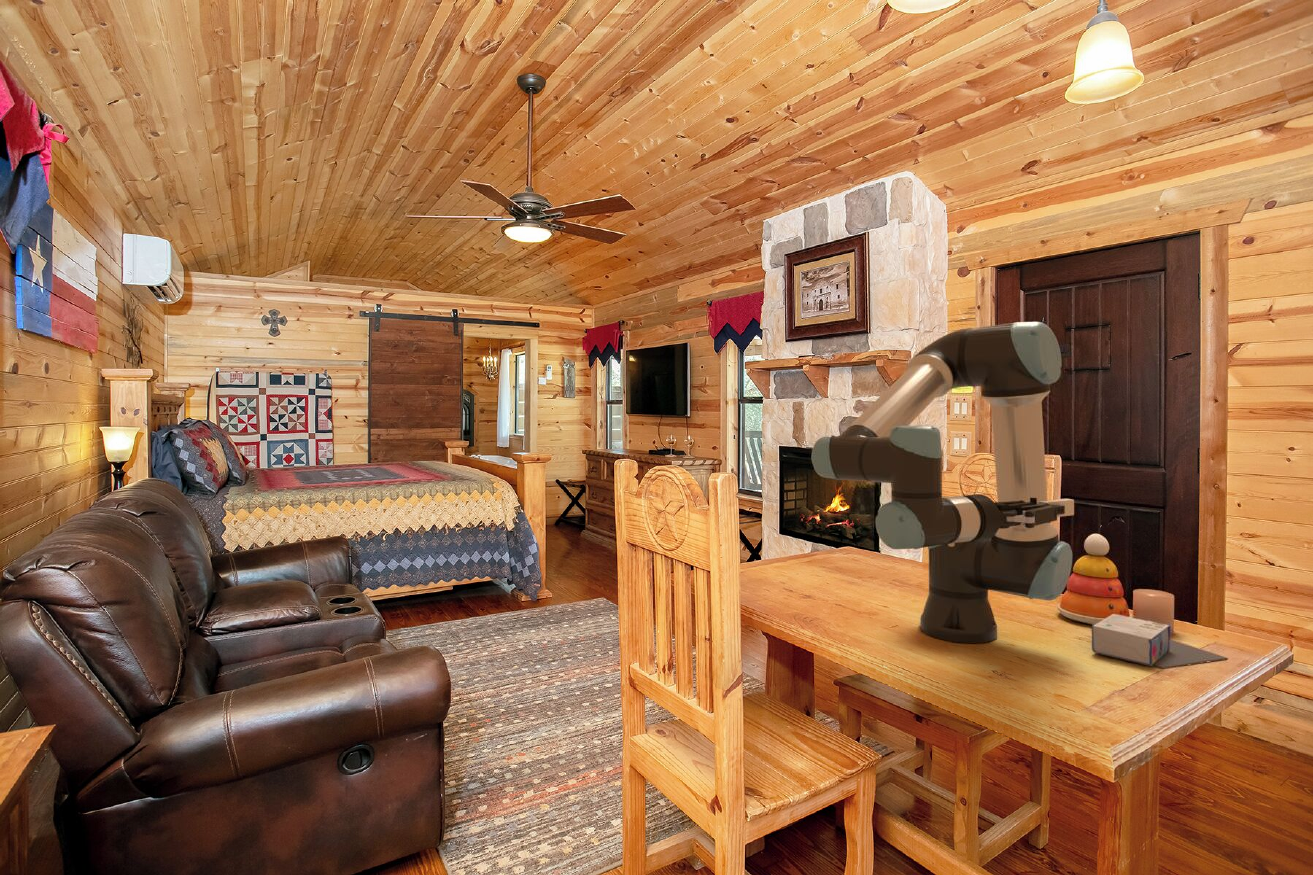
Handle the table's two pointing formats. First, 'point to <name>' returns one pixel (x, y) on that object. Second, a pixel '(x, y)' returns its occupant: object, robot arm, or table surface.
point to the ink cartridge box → (1131, 639)
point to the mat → (1185, 656)
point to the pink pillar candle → (1154, 607)
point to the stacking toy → (1094, 586)
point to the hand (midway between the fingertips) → (1069, 506)
